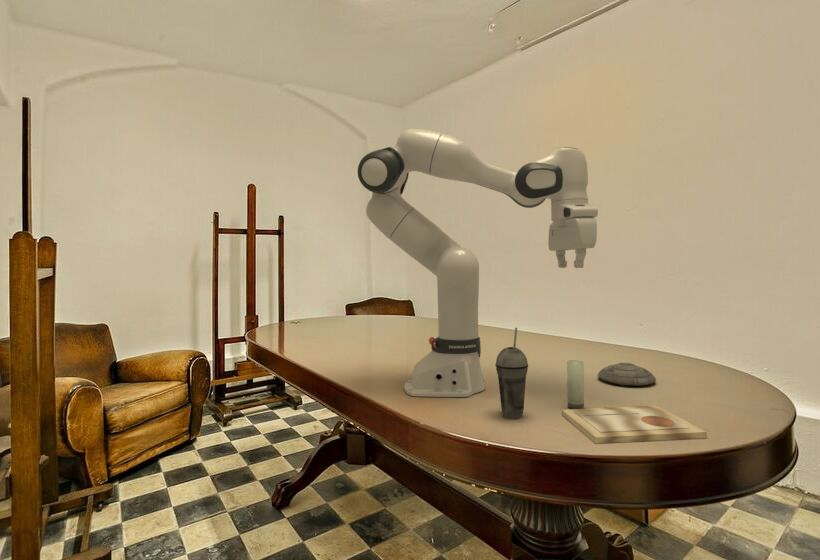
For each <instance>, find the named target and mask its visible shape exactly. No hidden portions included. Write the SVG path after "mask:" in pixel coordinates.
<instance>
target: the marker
mask: <svg viewBox="0 0 820 560" xmlns="http://www.w3.org/2000/svg"><path fill="white" fill-rule="evenodd" d="M566 363H567V364H566V372H567V373H566V374H567V379H566V380H567V381H566V383H567V409H585V382H584V381H585V379H584V376H585V375H584V372H585V371H584V370H585V369H584V367H585V366H584V364H585V363H584V361H582V360H577V359H576V360H574V359H572V360H571V359H570V360H568V361H566Z"/></svg>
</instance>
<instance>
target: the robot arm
mask: <svg viewBox="0 0 820 560" xmlns="http://www.w3.org/2000/svg"><path fill="white" fill-rule="evenodd" d="M587 163H588V162H587V158H586V155H585V153H584V152H583V151H582V150H581V149H579V148H576V147H569V146H563V147H556V148H555V149H554V150H553V151H551V152H550V153H549V154H547V155H546V156H544V157H542V158H539V159H537V160H535V161H533V162H528V163H527V164H524V165H522V166H521V167H520V168H519V169H518V171H512V170H508V169H505V168H503V167H500V166H496V165H493V164H491V163H488V162H486V161H484V160H483V159H481V158H480V157H479V156H478V155H476V153H475V152H474V151H473V150H472V149H471V147H470V146H469V144H467V143H466V142H465V141H462V139H461V140H460V138H457V137H455V136H452V135H450V134H446V133H442V132H438V131H434V130H429V129H422V128H413V127H412V128H407V129H405V130H403V131H402V132H401V133H400V135H399V136H398V138H397V140H396V144H395V146H394V147H392V146H389V147H388V146H387V147H385V148H381V149H377V150H373V151H371V152H368V153H367V154H366V155H364V156H363V157H362V158H361V159H360V161H359V164H358V167H357V177H358V180H359V182H360V184H361V185H362V186H363V187H364V189H366V190H368V191H369V192H371V193H372V195H371V198H370V200H369V201H367V202H368V203H367V205H366V216H367V218H368V220H369V221H370V222H371V223H372V224H373V225H374V226H375V228H377V229H378V231H380V233H382V234H383V235H384V236H385V237H386V238H387V239H389V240H390V241H391V242H392V243H393V244H395V245H396V246H397V247H398V248H400V249H401V250H402V251H404V253H406V254H408V255H409V256H410V257H411V258H412V259H414V260H415V261H417V263H419V264H420V265H422V266H423V267H425V269H427V270H428V271H429V272H431V273H432V274H433V275H435V276H436V277H437V278H436V282H437V283H436V284H437V285H436V287H437V323H438V327H437V328H438V329H437V331H438V336H437V337H436V338H435V337H434V336H431V337H429V338H428V343H429V345H430V346H431V351H430V352H428V354H426V355H425V356H424V357H423V358H421V359H420V360H419V361H417V362H416V363H415V364H414V367H413V370H412V374H411V379H408V380H406V381H405V382H404V386H403V387H404V391H405V393H406V394H407V395H408V396H412V397H429V398H431V397H434V398H435V397H437V398H438V397H439V398H442V397H445V398H469V397H471V396H472V395H474V394H478V393H479V392H480V393H481V392H483V391H484V390H485V389H486V384H485V381H484V378H483V374H482V373H483V371H482V367H481V366H482V365H481V359H480V358H481V354H482V346H481V345H482V344H481V337H480V336H479V288H480V285H479V284H480V263H479V260H478V258H477V256H476V254H475V253H473V251H472V250H470V249H468V248H466V247H462V246H461V245H460V244H458V243H457V242H456V241H455V240H454V239H453V238H451V237H450V236H449V235H448V234H446V233H445V232H444V231H443V230H442V229H441V228H440V227H439V226H438V225H436V224H435V223H434V222H433V221H431V220H430V219H428V217H426V216H425V215H424V214H422V212H420V211H419V210H418V209H416V208H415V207H414V206H412V205H411V204H410V203H408V202H407V201H406V200H405V199H404V198H403V196H402V195H403V193H404V191H405V187H406V184H407V183H408V179H409V173H411V172H418V173H422V174H425V175H429V176H431V177H432V176H433V177H435V178H440V179H444V180H449V181H457V182H462V183H468V184H473V185H476V186H477V185H478V186H480V187H483V188H486V189H490V190H493V191H496V192H498V193H501V194H504V195H506V196H507V197H509V198H510V199H511V200H512V201H513V202H514V203H516V204H517V205H519V206H520V207H522V208H524V209H525V208H527V209H531V208H532V209H533V208H536V207H538V206H540V205H541V204H543V203H544V202H545V201H546V200H548V199H549V200H550V205H551V207H550V209H551V211H550V212H551V215H550V217H551V222H552V223H550V225H549V227H548V228H549V229H548V250H549V251H550V252H555V257H556V260H557V267H558V268H559V269H565V268H567V266H568V261H567V260H566V251H571V250H572V251H573V250H574V251H575V252H574V253H575V260H573V267H574V268H575V269H583V268H584V267H585V266H584V265H585V264H584V261H585V258H586V255H587V249H593V248H595V246H596V244H597V236H598V235H597V234H598V232H597V231H598V224H597V219H596V217H598V214H599V209H598V207H597V206H593V205H591V204H589V197H588V193H587V188H588V183H589V174H588V164H587Z"/></svg>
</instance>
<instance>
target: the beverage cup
mask: <svg viewBox="0 0 820 560" xmlns="http://www.w3.org/2000/svg"><path fill="white" fill-rule="evenodd" d="M517 334H518V327H515V328H514V336H513V346H508V347H505V348H503V349H502V350H501V351H500V352H499V353H498V355H497V356H496V359H495V368H496V374H497V378H498V379H497V380H498V386H499V387H498V389H499V398H500V399H499V400H500V407H501V413H502V415H501V416H502V417H503V418H505V419H509V420H520V419H522V418H523V416H524V410H525V399H526V398H525V397H526V396H525V394H526V382H527V374H528V367H529V362H528V359H527V356H526V355H525V353H524V352H523V351H522V350H521V349H519V347H516V346H517V345H516V344H517V337H518V335H517Z"/></svg>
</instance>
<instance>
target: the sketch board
mask: <svg viewBox="0 0 820 560" xmlns="http://www.w3.org/2000/svg"><path fill="white" fill-rule="evenodd" d="M561 416H562V417H564V418H565V419H566V420H567V421H568V422H569V423H571V424H572V425H573V426H574V427H575V428H577V429H578V430H579V431H580V432H581V433H583V435H584V436H586V437H587V438H588V439H589V440H591V441H592V442H593V443H595V444H613V443H616V444H617V443H632V442H633V443H634V442H653V441H656V442H657V441H674V440H692V439H693V440H694V439H695V440H696V439H708V432H707V431H706V430H704V429H702V428H700V427H698V426H696V425H694V424H692V423H690V422H689V421H687V420H684V419H682V418H681V417H679V416H677V415H675V414H674V413H671V412H669V411H668V410H666V409H664V408H662V407H659V406H658V405H637V406H618V407H617V406H616V407H595V408H592V407H591V408H584V409H568V408H567V409H561Z"/></svg>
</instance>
